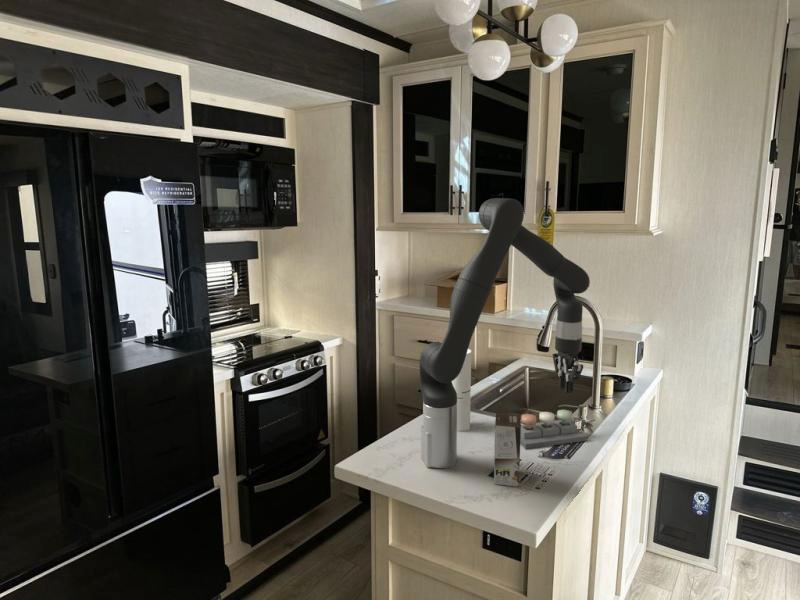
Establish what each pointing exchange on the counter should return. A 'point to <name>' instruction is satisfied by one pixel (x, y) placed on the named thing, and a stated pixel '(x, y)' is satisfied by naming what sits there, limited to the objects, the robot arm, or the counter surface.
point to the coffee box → (507, 449)
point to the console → (550, 434)
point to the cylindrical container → (463, 394)
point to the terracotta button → (528, 420)
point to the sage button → (564, 416)
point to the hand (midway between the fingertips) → (565, 390)
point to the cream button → (546, 418)
